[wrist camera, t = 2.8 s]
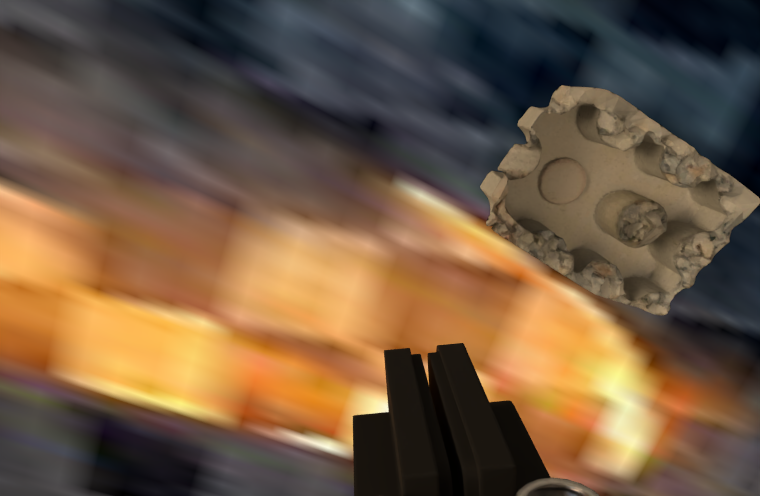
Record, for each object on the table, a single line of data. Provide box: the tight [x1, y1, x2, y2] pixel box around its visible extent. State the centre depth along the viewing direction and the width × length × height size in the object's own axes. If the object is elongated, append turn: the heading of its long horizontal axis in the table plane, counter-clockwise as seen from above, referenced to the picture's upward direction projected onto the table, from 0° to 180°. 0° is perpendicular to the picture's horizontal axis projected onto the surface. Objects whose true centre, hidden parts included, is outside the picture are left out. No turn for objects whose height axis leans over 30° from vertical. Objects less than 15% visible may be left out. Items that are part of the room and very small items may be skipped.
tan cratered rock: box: [480, 85, 760, 315], centre depth 26 cm, size 11×8×4 cm
